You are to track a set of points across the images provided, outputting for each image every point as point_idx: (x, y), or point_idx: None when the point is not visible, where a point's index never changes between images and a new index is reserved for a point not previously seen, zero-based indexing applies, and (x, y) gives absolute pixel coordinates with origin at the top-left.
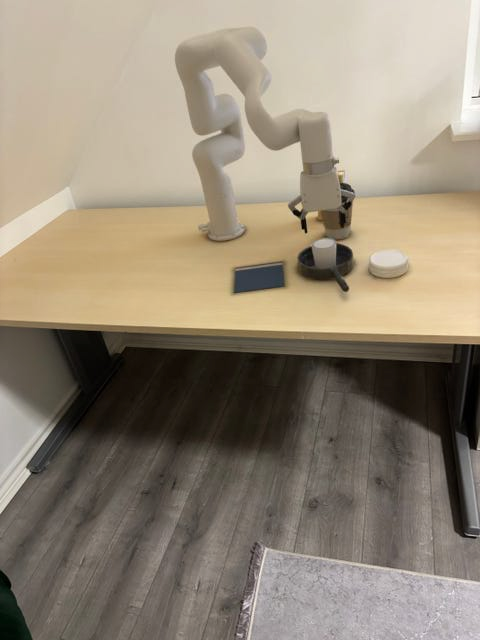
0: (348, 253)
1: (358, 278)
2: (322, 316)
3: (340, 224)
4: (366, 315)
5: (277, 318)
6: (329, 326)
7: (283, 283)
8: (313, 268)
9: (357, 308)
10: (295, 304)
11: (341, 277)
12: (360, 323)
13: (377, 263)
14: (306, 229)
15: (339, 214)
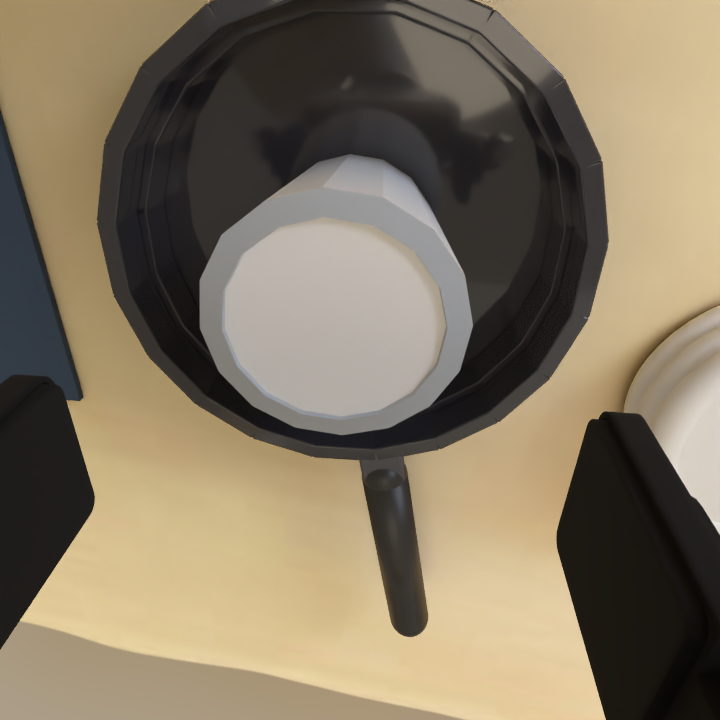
0: (572, 206)
1: (528, 434)
2: (288, 628)
3: (574, 518)
4: (459, 659)
5: (101, 598)
6: (309, 672)
7: (67, 378)
8: (243, 427)
9: (438, 623)
10: (168, 543)
11: (407, 572)
12: (423, 683)
13: (688, 487)
14: (57, 546)
15: (640, 631)
